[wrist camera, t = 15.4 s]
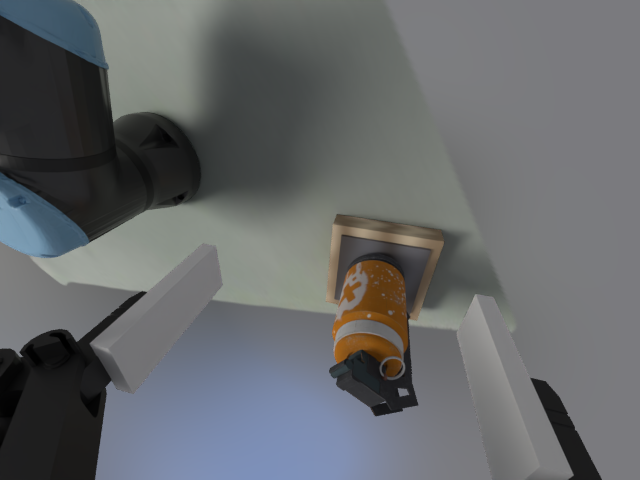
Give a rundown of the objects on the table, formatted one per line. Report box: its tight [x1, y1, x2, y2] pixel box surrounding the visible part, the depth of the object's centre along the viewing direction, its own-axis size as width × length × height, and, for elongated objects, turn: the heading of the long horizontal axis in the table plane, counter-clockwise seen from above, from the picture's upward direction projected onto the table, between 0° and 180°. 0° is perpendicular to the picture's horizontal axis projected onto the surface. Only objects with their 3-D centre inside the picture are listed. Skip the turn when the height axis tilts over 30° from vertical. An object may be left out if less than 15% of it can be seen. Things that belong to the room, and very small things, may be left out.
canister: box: [329, 254, 418, 416], centre depth 35 cm, size 9×11×20 cm
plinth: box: [326, 214, 444, 321], centre depth 45 cm, size 16×16×4 cm
